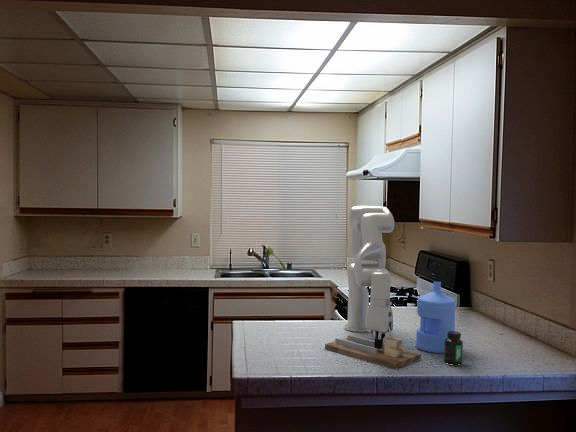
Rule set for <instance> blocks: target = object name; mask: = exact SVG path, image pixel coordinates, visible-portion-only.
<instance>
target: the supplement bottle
mask: <svg viewBox="0 0 576 432" xmlns="http://www.w3.org/2000/svg"><path fill="white" fill-rule="evenodd" d="M461 335H462V334H461V332H460V331H456V330H455V331H448V335H447V337H448V338H447V339H445V343H444V353H443V363H444V362H445V363H448V364H453V365H458V364H462V365H463V358H464V356H463V355H464V342H463V340H462V339H461V338H462V336H461ZM445 363H444V364H445ZM448 364H447V365H448Z"/></svg>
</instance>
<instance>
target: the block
mask: <svg viewBox="0 0 576 432" xmlns="http://www.w3.org/2000/svg"><path fill="white" fill-rule="evenodd" d="M384 344H385V347H384V355H388V356H392V357H398V356H401V355H402V352H403V350H404V349H403V346H404V339H403V338H398V337H393V336H391V337H390V336H389V337H388V338H384Z"/></svg>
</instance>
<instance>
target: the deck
mask: <svg viewBox="0 0 576 432" xmlns="http://www.w3.org/2000/svg"><path fill="white" fill-rule="evenodd" d="M342 339H343V340H347V339H348V337H346V338H342ZM347 341H351V340H347ZM351 342H354V341H351ZM355 343H358V342H355ZM358 344H362V343H358ZM362 345H366V344H362ZM366 346H370V345H366ZM370 347H373V346H370ZM324 350H327V351H329V352H330V351H332V352H335V353H337V354H342V355H345V356H348V357H351V356H352V358H355V359H359V360H363V361H365V360H366V362H369V363H372V362H373V363H372V364H376V363H377V364H376V365H379V364H380V366H383V365H384V366H383V367H386V366H387V368H390V367H391V368H390V369H393V368H394V369H393V370H397V369H399V368H398V367H400V368H402V367H404V366H403V365H405V366H407V365H410V364H412V363H415V362H418V361H420V360H421V359H422V354H421V353H417V352H414V351H410V350H406V349H403V352H402V355H401V356H398V357H392V356H388V355H384V349H377V354H374V353H370V352H366V351H363V350H359V349H355V348H352V347H348V346H344V345H341V344H337V343H336V340H335V341H331V342H327V343H325V344H324ZM419 359H420V360H419ZM417 360H418V361H417ZM414 361H415V362H414ZM411 362H412V363H411ZM409 363H410V364H409ZM406 364H407V365H406ZM401 366H402V367H401ZM396 368H397V369H396Z"/></svg>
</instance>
